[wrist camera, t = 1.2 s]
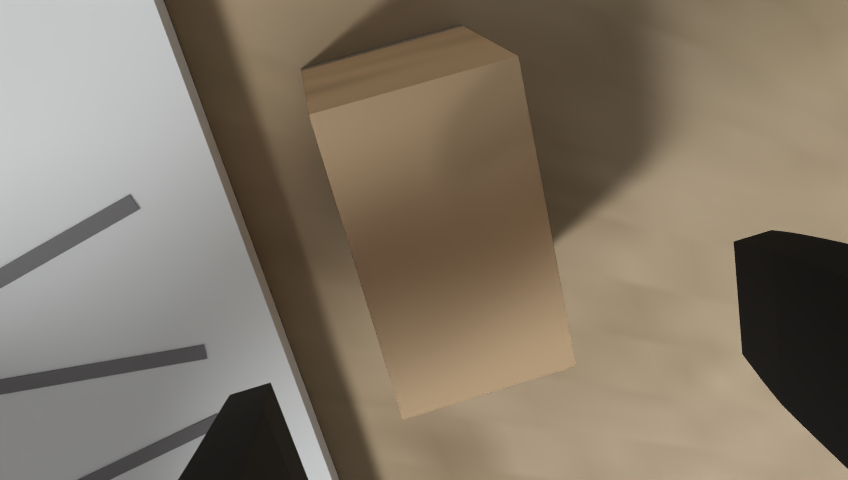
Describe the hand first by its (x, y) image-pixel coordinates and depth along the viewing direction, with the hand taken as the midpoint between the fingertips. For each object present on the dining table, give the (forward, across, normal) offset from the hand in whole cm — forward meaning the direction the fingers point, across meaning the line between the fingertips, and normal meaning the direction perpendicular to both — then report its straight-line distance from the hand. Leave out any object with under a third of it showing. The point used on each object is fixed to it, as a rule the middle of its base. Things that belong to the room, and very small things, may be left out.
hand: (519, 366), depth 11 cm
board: (+9, +10, +2) cm, 13 cm away
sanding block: (+9, 0, 0) cm, 9 cm away
